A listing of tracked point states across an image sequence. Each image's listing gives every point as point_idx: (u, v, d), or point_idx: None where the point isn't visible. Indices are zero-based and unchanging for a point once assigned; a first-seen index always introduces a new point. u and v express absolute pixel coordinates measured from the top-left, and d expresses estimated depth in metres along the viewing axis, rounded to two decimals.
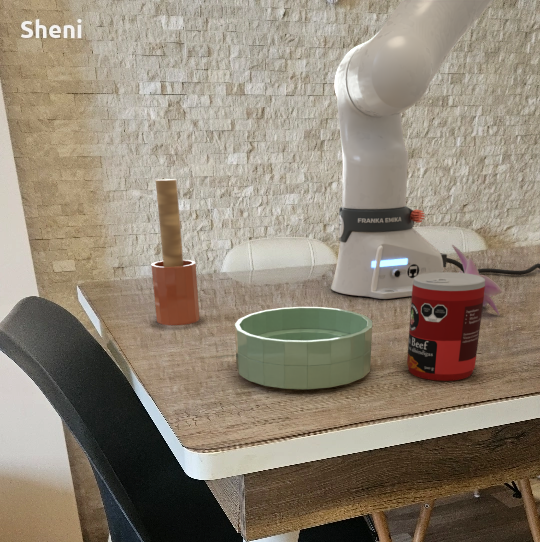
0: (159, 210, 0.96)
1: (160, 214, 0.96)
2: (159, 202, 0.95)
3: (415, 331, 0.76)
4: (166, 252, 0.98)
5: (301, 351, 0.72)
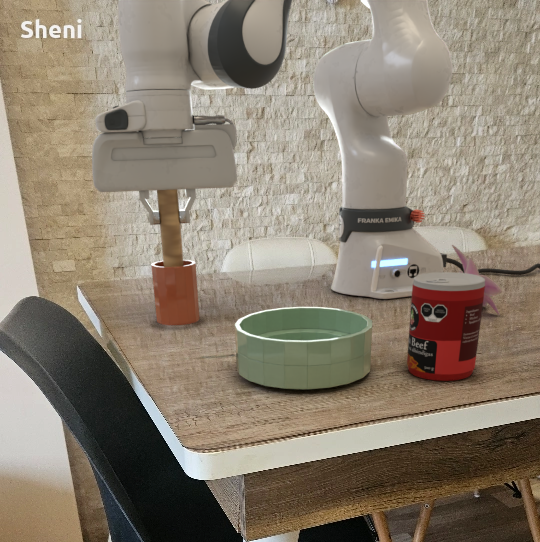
0: (159, 210, 0.96)
1: (160, 214, 0.96)
2: (159, 202, 0.95)
3: (415, 331, 0.76)
4: (166, 252, 0.98)
5: (301, 351, 0.72)
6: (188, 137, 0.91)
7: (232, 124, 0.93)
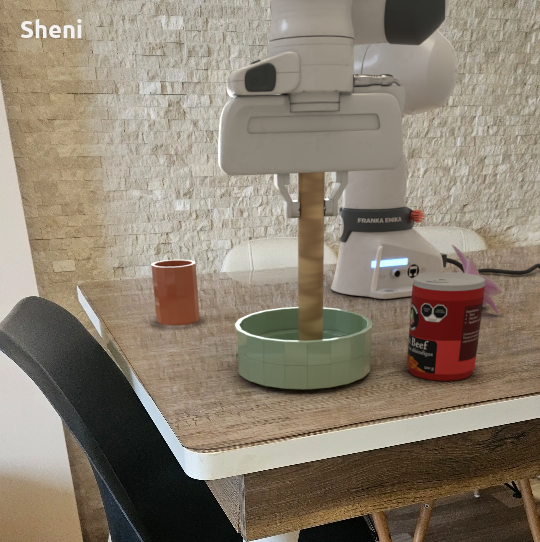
0: (300, 199, 0.74)
1: (301, 204, 0.74)
2: (301, 189, 0.73)
3: (415, 331, 0.76)
4: (305, 254, 0.76)
5: (301, 351, 0.72)
6: (347, 103, 0.69)
7: (401, 86, 0.71)
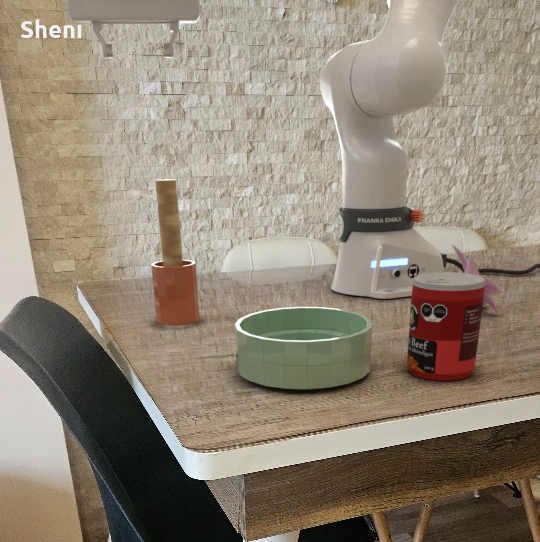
0: (159, 210, 0.96)
1: (160, 214, 0.96)
2: (159, 202, 0.95)
3: (415, 331, 0.76)
4: (166, 252, 0.98)
5: (301, 351, 0.72)
6: None
7: None
